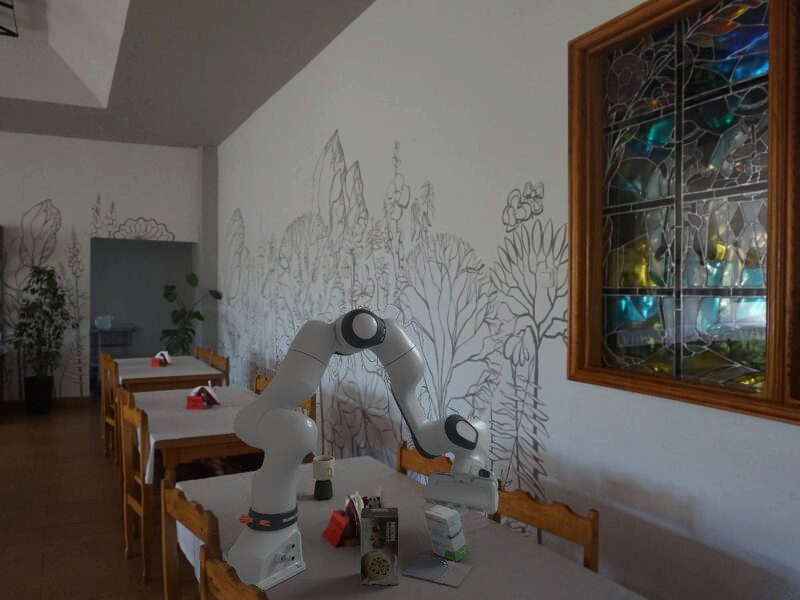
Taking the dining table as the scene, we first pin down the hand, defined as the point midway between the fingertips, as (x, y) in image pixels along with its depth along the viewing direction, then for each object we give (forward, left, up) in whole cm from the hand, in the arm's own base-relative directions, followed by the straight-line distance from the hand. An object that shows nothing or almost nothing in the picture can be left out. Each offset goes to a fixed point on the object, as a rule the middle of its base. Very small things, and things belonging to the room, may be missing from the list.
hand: (453, 522), depth 163 cm
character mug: (+21, +52, -8) cm, 57 cm away
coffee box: (-21, +11, -8) cm, 25 cm away
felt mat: (-11, 0, -8) cm, 14 cm away
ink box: (-2, 0, -8) cm, 8 cm away
